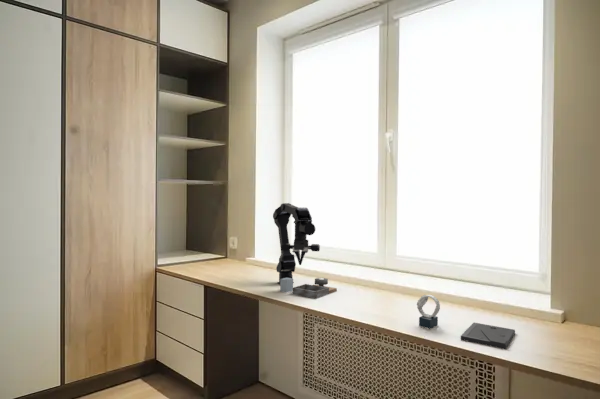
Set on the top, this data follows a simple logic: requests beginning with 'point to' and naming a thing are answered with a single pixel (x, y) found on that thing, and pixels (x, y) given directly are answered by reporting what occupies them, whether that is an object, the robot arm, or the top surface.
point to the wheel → (321, 281)
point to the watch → (426, 319)
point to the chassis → (313, 290)
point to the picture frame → (488, 335)
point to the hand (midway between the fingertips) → (300, 264)
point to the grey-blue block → (286, 285)
